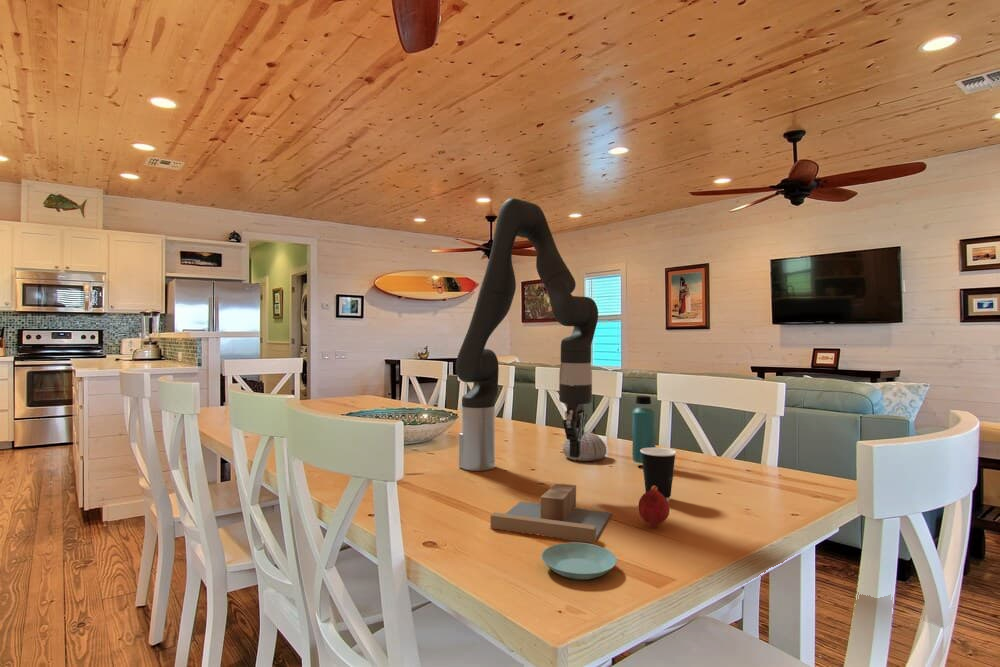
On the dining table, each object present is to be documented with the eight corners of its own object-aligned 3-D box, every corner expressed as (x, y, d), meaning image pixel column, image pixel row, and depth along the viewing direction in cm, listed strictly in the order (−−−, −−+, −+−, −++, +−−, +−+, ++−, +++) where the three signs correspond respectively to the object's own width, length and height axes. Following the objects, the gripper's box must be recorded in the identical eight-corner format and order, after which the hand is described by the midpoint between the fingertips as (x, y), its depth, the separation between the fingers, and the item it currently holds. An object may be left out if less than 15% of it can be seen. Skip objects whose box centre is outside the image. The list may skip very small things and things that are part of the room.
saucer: (626, 586, 81) (626, 571, 81) (548, 589, 80) (548, 573, 80) (604, 554, 93) (604, 541, 93) (536, 557, 92) (536, 543, 92)
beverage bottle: (658, 469, 152) (658, 397, 152) (634, 469, 152) (634, 397, 152) (652, 463, 158) (652, 394, 158) (629, 463, 158) (629, 394, 158)
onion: (664, 534, 102) (664, 491, 102) (634, 529, 105) (634, 487, 105) (672, 525, 107) (672, 484, 107) (643, 520, 110) (643, 480, 110)
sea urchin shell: (561, 462, 160) (561, 435, 160) (563, 452, 173) (563, 427, 173) (607, 464, 158) (607, 436, 158) (606, 454, 171) (606, 428, 171)
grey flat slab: (490, 528, 105) (490, 515, 105) (520, 503, 121) (520, 491, 121) (593, 543, 97) (593, 529, 97) (611, 514, 113) (611, 502, 113)
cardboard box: (555, 503, 119) (540, 519, 109) (555, 483, 119) (540, 497, 109) (576, 506, 117) (562, 522, 107) (576, 485, 117) (562, 499, 107)
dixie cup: (634, 495, 127) (634, 447, 127) (666, 493, 128) (666, 446, 128) (649, 505, 119) (649, 455, 119) (683, 503, 120) (683, 454, 120)
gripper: (567, 379, 134) (566, 449, 134) (551, 383, 122) (551, 461, 122) (597, 380, 131) (597, 452, 131) (584, 385, 119) (584, 464, 119)
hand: (575, 456), depth 127 cm, fingers closed
